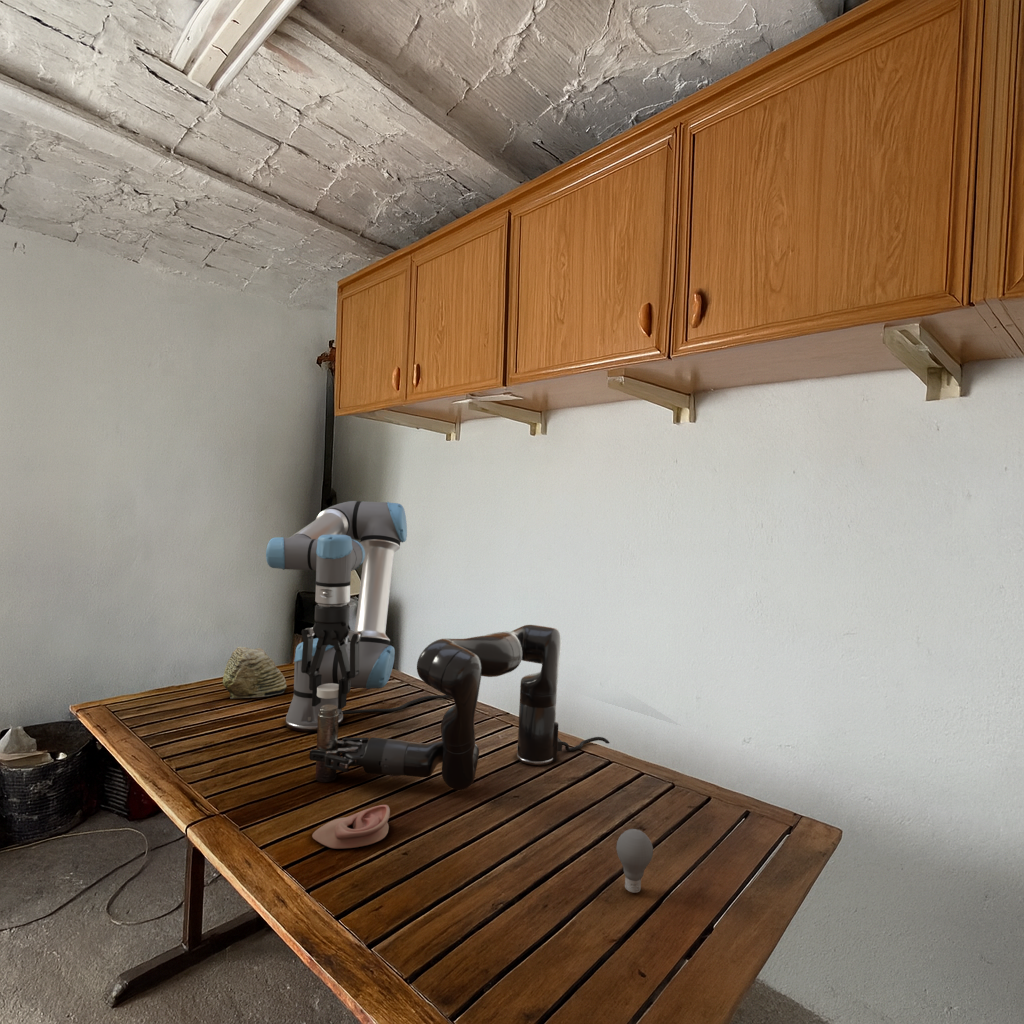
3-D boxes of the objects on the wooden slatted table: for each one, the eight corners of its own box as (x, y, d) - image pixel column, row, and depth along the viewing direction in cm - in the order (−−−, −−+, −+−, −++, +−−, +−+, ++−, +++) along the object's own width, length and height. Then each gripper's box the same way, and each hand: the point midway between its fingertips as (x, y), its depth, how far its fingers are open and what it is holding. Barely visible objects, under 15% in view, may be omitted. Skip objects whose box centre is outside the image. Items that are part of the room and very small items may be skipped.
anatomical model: (304, 822, 115) (334, 794, 126) (303, 844, 115) (333, 813, 126) (372, 833, 112) (397, 803, 124) (371, 855, 113) (396, 823, 124)
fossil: (218, 695, 195) (220, 647, 195) (278, 685, 208) (279, 640, 207) (228, 703, 189) (230, 653, 188) (289, 692, 201) (290, 645, 201)
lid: (329, 700, 139) (329, 692, 139) (311, 695, 142) (311, 687, 142) (347, 693, 144) (347, 686, 144) (329, 689, 146) (330, 681, 146)
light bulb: (610, 879, 108) (613, 822, 108) (644, 879, 109) (647, 822, 109) (619, 902, 102) (622, 840, 102) (655, 901, 103) (658, 840, 103)
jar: (311, 778, 142) (314, 707, 142) (328, 771, 146) (331, 702, 146) (323, 784, 140) (325, 712, 139) (340, 778, 143) (343, 707, 143)
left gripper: (285, 603, 140) (282, 707, 141) (365, 609, 137) (361, 715, 138) (302, 598, 147) (299, 696, 148) (378, 603, 144) (374, 704, 145)
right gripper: (398, 728, 148) (328, 722, 150) (378, 752, 134) (301, 745, 136) (397, 760, 148) (327, 754, 150) (377, 787, 134) (300, 780, 136)
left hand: (329, 705), depth 143 cm, fingers closed on lid, 5 cm apart
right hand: (315, 750), depth 143 cm, fingers closed on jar, 4 cm apart
